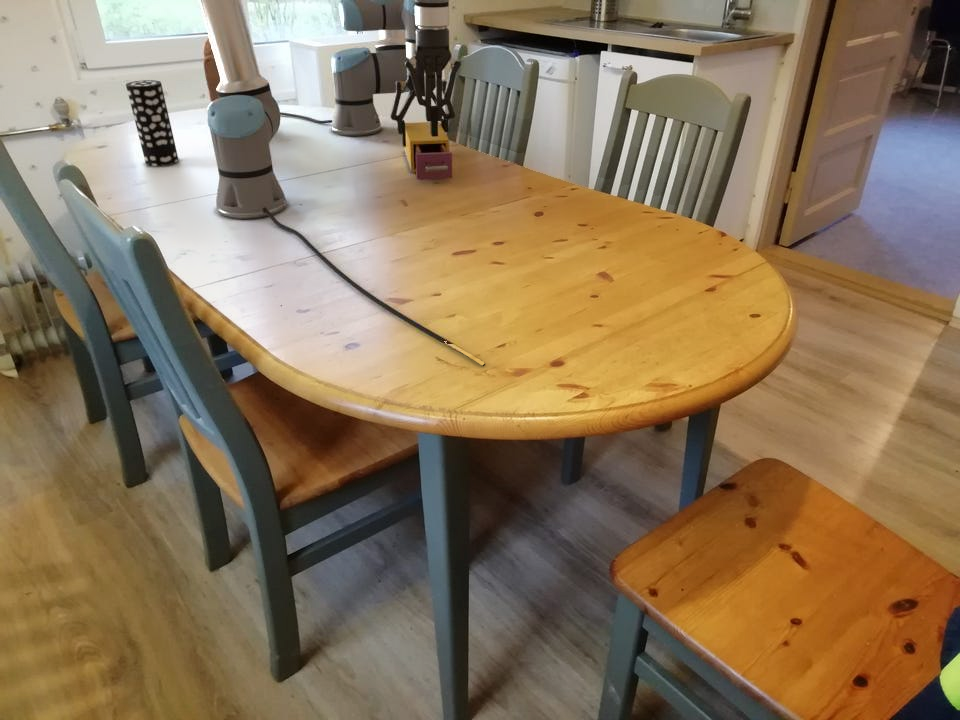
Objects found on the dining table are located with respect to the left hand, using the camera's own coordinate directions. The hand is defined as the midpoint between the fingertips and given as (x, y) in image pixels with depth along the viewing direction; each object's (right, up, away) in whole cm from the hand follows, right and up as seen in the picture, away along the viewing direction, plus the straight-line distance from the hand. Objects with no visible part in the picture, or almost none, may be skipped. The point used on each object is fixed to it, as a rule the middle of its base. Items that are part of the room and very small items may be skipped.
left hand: (434, 134), depth 166 cm
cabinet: (-4, +1, +24) cm, 24 cm away
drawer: (-2, -5, +13) cm, 14 cm away
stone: (-64, +16, +47) cm, 81 cm away
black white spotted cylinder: (-75, +8, +15) cm, 77 cm away
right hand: (-5, +6, +27) cm, 28 cm away
